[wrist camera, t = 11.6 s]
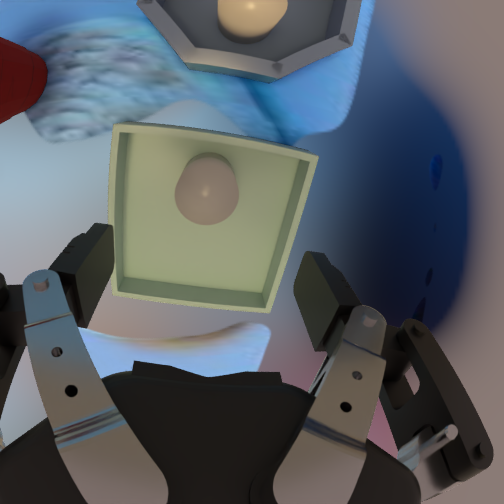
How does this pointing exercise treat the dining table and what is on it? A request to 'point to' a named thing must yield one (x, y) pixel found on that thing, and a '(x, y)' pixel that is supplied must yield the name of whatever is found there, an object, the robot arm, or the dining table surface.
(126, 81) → the dining table surface
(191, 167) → the beige rounded piece
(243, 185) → the tray
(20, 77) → the plastic cup
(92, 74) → the dining table surface
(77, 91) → the dining table surface
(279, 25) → the bowl
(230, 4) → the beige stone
